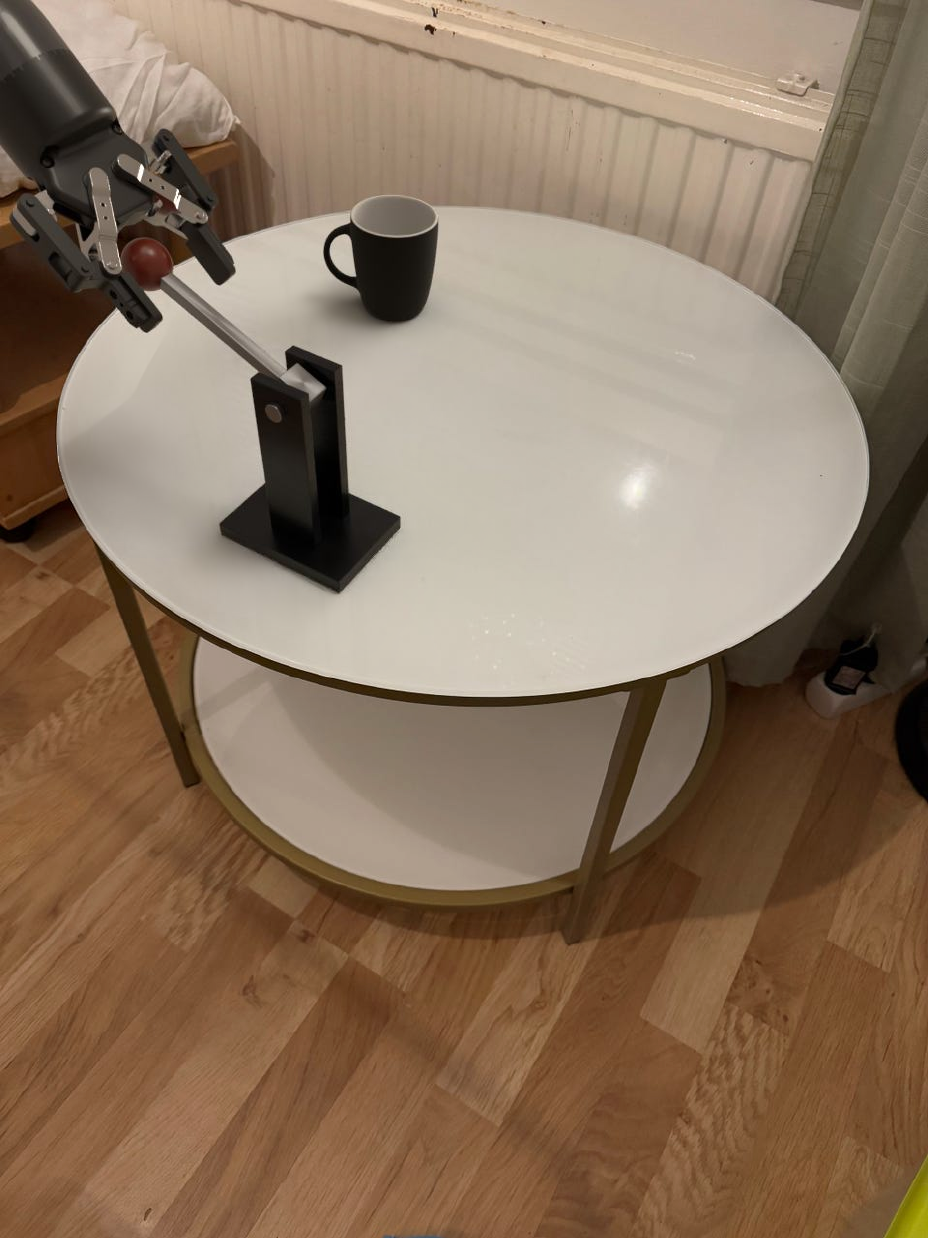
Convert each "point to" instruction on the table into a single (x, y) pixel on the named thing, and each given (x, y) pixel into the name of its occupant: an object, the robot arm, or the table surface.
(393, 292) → the mug
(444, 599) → the table surface
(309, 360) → the bracket
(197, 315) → the lever
